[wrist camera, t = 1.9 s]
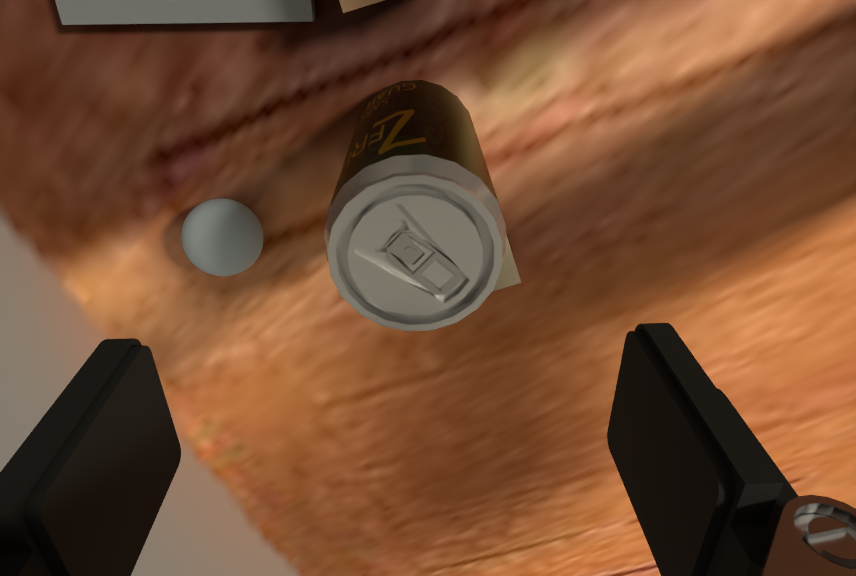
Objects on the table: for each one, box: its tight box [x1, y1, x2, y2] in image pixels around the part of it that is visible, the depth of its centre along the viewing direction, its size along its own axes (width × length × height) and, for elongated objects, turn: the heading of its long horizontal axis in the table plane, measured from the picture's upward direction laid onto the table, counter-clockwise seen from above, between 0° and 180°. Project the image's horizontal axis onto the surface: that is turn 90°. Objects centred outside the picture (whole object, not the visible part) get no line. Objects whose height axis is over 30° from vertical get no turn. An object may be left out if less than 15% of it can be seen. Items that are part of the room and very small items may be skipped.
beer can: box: [324, 80, 506, 331], centre depth 21 cm, size 5×5×12 cm
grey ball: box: [181, 198, 264, 276], centre depth 27 cm, size 4×4×4 cm
